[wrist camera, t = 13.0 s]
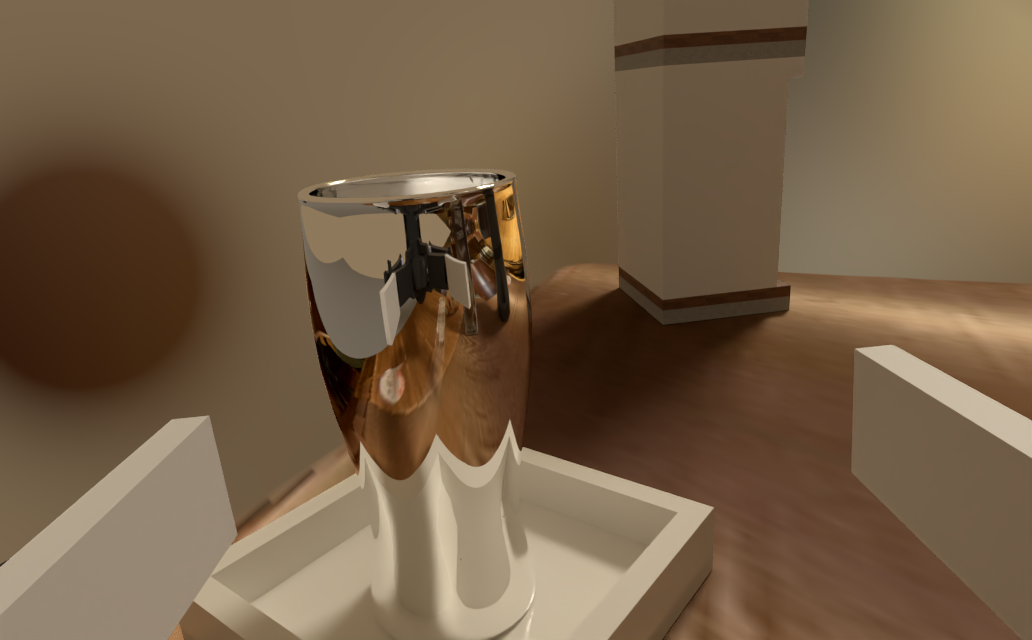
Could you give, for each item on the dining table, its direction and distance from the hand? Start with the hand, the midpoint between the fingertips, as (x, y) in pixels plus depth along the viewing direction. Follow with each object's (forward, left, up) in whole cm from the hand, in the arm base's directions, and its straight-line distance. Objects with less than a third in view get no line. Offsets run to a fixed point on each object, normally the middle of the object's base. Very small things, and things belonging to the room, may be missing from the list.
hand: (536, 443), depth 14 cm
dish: (-5, -8, -11) cm, 15 cm away
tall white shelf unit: (-45, -16, -12) cm, 49 cm away
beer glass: (-5, -8, -11) cm, 14 cm away
